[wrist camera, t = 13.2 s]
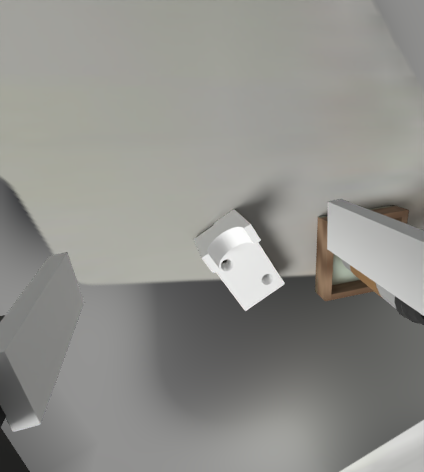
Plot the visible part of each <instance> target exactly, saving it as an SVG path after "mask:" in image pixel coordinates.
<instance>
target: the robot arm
mask: <svg viewBox="0 0 424 472" xmlns="http://www.w3.org/2000/svg"><path fill="white" fill-rule="evenodd" d="M327 249H328V250H329V251H331V252H332V253H333V254H335V255H336V256H338V257H339V258H341V259H342V260H344V261H345V262H347V263H348V264H349V265H351V266H352V267H354V268H355V269H357V270H358V271H360V272H361V273H362V274H364V275H365V276H367V277H368V278H370V279H371V280H373V281H374V282H375V283H377V284H378V285H380V286H381V287H383V288H384V289H386V290H387V291H388V292H390V293H391V294H393V295H394V296H396V297H397V298H399V299H400V300H402V301H403V302H404V303H406V304H407V305H409V306H410V307H412V308H413V309H415V310H416V311H417V312H419V313H420V314H422V315H423V316H424V230H421V229H419V228H416V227H413V226H411V225H408V224H406V223H403V222H400V221H398V220H395V219H393V218H390V217H387V216H385V215H382V214H379V213H377V212H374V211H372V210H369V209H366V208H364V207H361V206H358V205H356V204H353V203H351V202H348V201H345V200H343V199H338V200H333V201H328V225H327ZM83 305H84V299H83V296H82V294H81V291H80V288H79V285H78V282H77V279H76V276H75V273H74V270H73V267H72V264H71V262H70V259H69V256H68V253H67V252H66V253H61V254H55V255H50V256H49V258H48V259H47V260H46V262H45V263H44V264H43V266H42V267H41V268H40V270H39V271H38V272H37V274H36V275H35V276H34V278H33V279H32V280H31V282H30V283H29V284H28V286H27V287H26V288H25V290H24V291H23V292H22V294H21V295H20V296H19V298H18V299H17V300H16V302H15V303H14V304H13V306H12V307H11V308H10V310H9V311H8V312H7V314H6V315H4V316H0V472H30V471H29V470H28V468H27V467H26V465H25V464H24V462H23V461H22V460H21V458H20V456H19V455H18V453H17V452H16V450H15V449H14V447H13V446H12V444H11V442H10V441H9V439H8V438H7V436H6V435H5V433H4V432H3V430H2V429H1V425H2V423H3V421H4V419H5V418H6V420H7V422H8V424H9V425H10V427H11V429H12V431H13V432H14V431H18V430H22V429H26V428H30V427H33V426H37V425H40V424H41V422H42V420H43V417H44V414H45V411H46V408H47V405H48V402H49V400H50V397H51V394H52V391H53V388H54V386H55V383H56V380H57V378H58V375H59V372H60V369H61V366H62V364H63V361H64V358H65V355H66V352H67V350H68V347H69V344H70V341H71V338H72V335H73V333H74V330H75V327H76V324H77V322H78V319H79V316H80V313H81V310H82V307H83Z"/></svg>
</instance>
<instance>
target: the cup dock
mask: <svg viewBox="0 0 424 472" xmlns="http://www.w3.org/2000/svg"><path fill="white" fill-rule="evenodd" d="M369 210H372V211H374V212H377V213H379V214H382V215H385V216H387V217H390V218H393V219H395V220H398V221H400V222H403V223H406V224H407V220H408V213H409V210H407V209H404V208H401V207H398V206H394V205H392V206H386V207H379V208H373V209H369ZM327 225H328V215H327V216H320V217H318V230H317V257H316V285H315V292H316V293H317V294H318V295H319V296H320V297H321V298H323V299H324V301H328V300H333V299H338V298H343V297H348V296H353V295H358V294H363V293H368V292H373V290H372V289H371V288H369V287H368V286H367V285H366V284H365V283H363V282H362V281H361V280H360V279H359V278H357V277H356V276H355V275H354V274H353V273H352V272H351V271H350V270H349V269H347V268H346V267H345V266H344V264H343V263H342V260H341V258H339V257H338V256H336V255H335V254H333V253H332V252H331V251H329V250H328V249H327Z"/></svg>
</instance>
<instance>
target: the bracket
mask: <svg viewBox="0 0 424 472" xmlns="http://www.w3.org/2000/svg"><path fill="white" fill-rule="evenodd" d="M213 224H214V225H213V226H212V227H210V228H209V229H208V230H206V231H205V232H203V233H202V234H200V235H199V236H198V237H196V238H195V239H193V240H194V242H195V244H196V247H197V249H198V251H199V253H200V256H201V258H202V259H203V261H204V262H205V263H206V265H207V266H208V267H209V269H210V270H211V271H212V272H213V273H215V272H216V273H217V274H218V276H219V277H220V278H221V280H222V281H223V282H224V283H225V285H226V286H227V287H228V289H229V290H230V291H231V293H232V294H233V295H234V297H235V298H236V299H237V300H238V302H239V303H240V305H241V306H242V307H243V309H244V310H245V311H246V310H248V309H249V308H251V307H252V306H253V305H255V304H256V303H258V302H259V301H261V300H262V299H264V298H265V297H266V296H268V295H269V294H271V293H272V292H274V291H275V290H277V289H278V288H279V287H281V286H282V285H284V282H283V280H282V279H281V277H280V275H279V274H278V272H277V271H276V269H275V268H274V266H273V265H272V263H271V261H270V260H269V258H268V257H267V255H266V254H265V252H264V251H263V249H262V247H261V246H260V244H259V243H258V242H259V241H261V239H260V238H259V236H258V235H257V233H256V232H255V230H254V228H253V227H252V225H251V224H250V223H249V222H248V221H247V220H246V219H245V218H243V217H242V216H241V215H240V214H239V213H238V212H237V211H236V210H235V209H233V210H232V211H230V212H229V213H227V214H226V215H225V216H223V217H222V218H220V219H219V220H217V221H216V222H215V223H213ZM227 259H228V260H227ZM224 260H227V262H225V263H223V264H221V263H222V262H223V261H224Z"/></svg>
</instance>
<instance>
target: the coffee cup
mask: <svg viewBox="0 0 424 472" xmlns="http://www.w3.org/2000/svg"><path fill="white" fill-rule="evenodd" d="M341 260H342V259H341ZM342 263H343V264H344V266H345V267H346V268H347V269H349V270H350V271H351V272H352V273H353V274H354V275H355V276H356V277H357V278H359V279H360V280H361V281H362V282H363V283H365V284H366V285H367V286H368V287H369V288H371V289H372V290H373V291H374V292H376V293H377V294H378V295H379V296H380V297H382V298H384V299H385V300H386V301H387V302H388V303H390V304H391V305H392V306H393V307H395V308H396V309H397V311H398V312H399V314H401V315H402V316H404V317H406V318H408V319H409V320H411V321H412V322H415V323H420V324H423V325H424V316H423V315H422V314H420V313H419V312H417V311H416V310H415V309H413V308H412V307H410V306H409V305H407V304H406V303H404V302H403V301H402V300H400V299H399V298H397V297H396V296H394V295H393V294H391V293H390V292H388V291H387V290H386V289H384V288H383V287H381V286H380V285H378V284H377V283H375V282H374V281H373V280H371V279H370V278H368V277H367V276H365V275H364V274H362V273H361V272H360V271H358V270H357V269H355V268H354V267H352V266H351V265H349V264H348V263H347V262H345V261H344V260H342Z"/></svg>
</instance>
